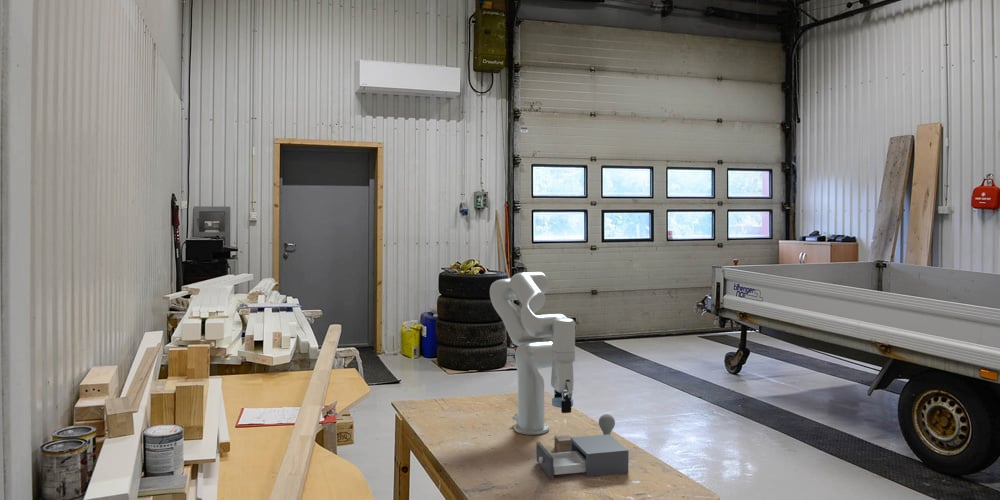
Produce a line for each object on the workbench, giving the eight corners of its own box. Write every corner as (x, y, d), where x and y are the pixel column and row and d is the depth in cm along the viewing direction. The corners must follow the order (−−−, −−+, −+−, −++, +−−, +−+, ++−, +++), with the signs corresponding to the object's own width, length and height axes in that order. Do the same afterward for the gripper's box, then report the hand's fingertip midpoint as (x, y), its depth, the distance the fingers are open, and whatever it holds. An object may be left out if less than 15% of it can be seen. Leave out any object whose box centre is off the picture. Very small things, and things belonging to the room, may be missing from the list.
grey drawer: (533, 461, 201) (533, 442, 201) (575, 457, 204) (575, 438, 204) (546, 479, 187) (546, 458, 186) (591, 474, 190) (591, 454, 189)
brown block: (554, 447, 214) (554, 435, 214) (568, 446, 215) (568, 434, 215) (559, 453, 210) (558, 440, 209) (573, 451, 211) (573, 439, 210)
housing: (570, 459, 204) (570, 437, 204) (609, 455, 207) (609, 434, 206) (587, 477, 189) (587, 453, 189) (628, 473, 192) (628, 450, 192)
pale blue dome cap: (547, 404, 213) (547, 399, 213) (561, 400, 217) (561, 395, 217) (563, 409, 208) (563, 404, 207) (577, 404, 212) (577, 400, 212)
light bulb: (602, 447, 215) (602, 417, 214) (596, 441, 220) (596, 412, 220) (617, 445, 216) (617, 415, 216) (610, 440, 222) (610, 411, 221)
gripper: (544, 350, 219) (544, 401, 220) (560, 362, 202) (559, 418, 203) (565, 349, 221) (565, 400, 222) (583, 361, 204) (582, 416, 205)
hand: (562, 408), depth 213 cm, fingers closed on pale blue dome cap, 7 cm apart
